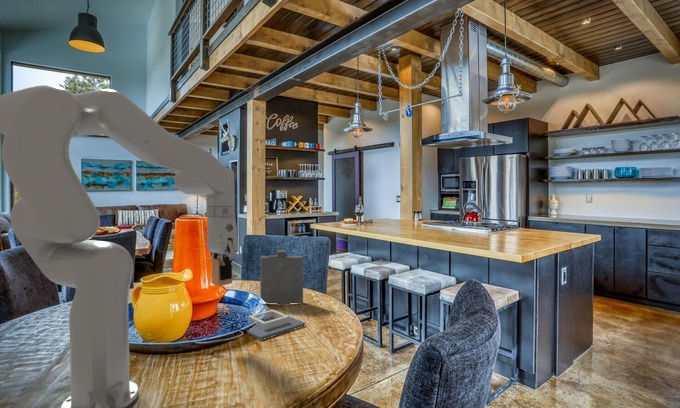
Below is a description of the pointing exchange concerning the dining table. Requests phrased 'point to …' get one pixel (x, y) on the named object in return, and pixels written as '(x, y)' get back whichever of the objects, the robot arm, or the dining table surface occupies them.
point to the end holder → (272, 324)
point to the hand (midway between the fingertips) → (221, 277)
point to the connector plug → (218, 272)
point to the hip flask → (281, 278)
